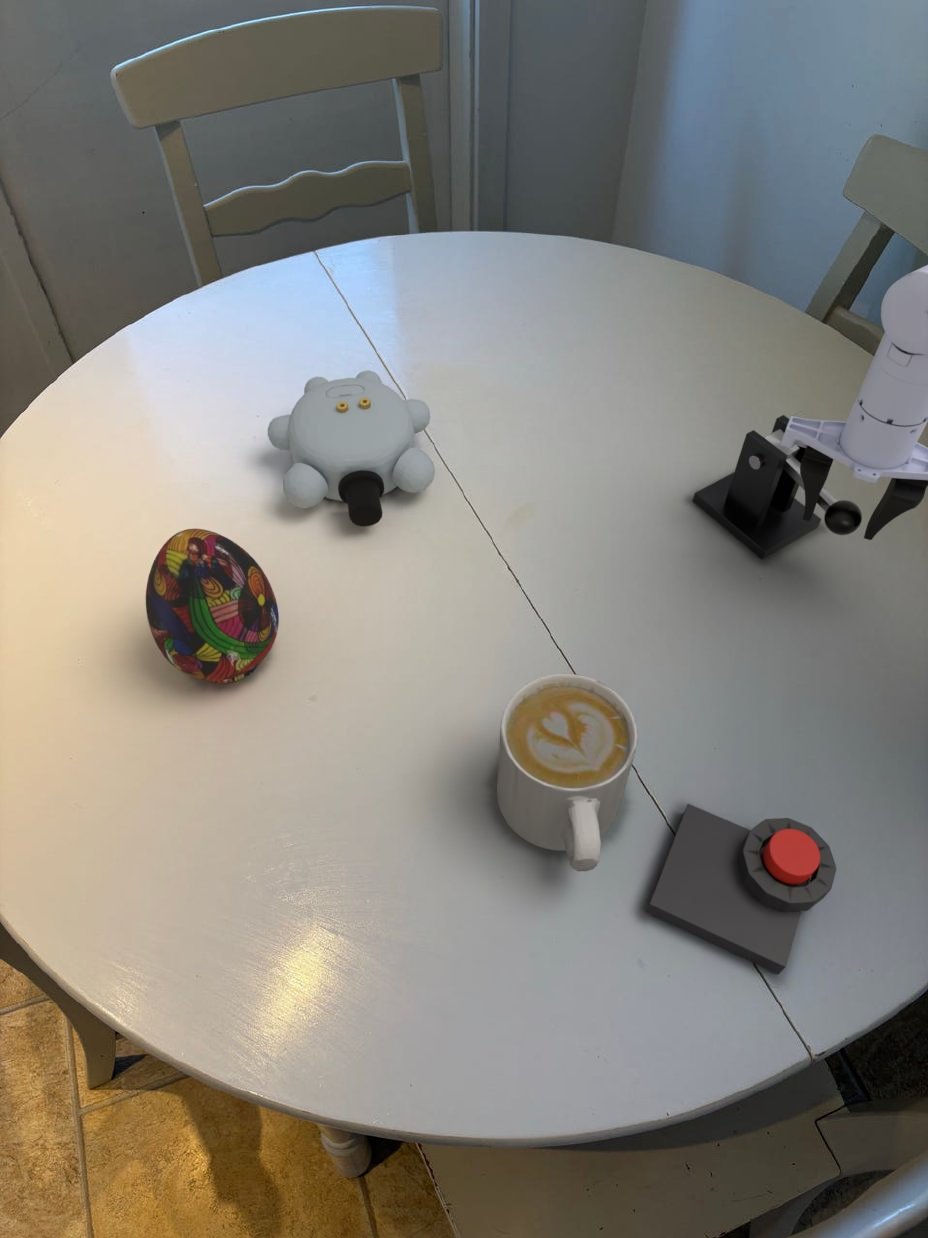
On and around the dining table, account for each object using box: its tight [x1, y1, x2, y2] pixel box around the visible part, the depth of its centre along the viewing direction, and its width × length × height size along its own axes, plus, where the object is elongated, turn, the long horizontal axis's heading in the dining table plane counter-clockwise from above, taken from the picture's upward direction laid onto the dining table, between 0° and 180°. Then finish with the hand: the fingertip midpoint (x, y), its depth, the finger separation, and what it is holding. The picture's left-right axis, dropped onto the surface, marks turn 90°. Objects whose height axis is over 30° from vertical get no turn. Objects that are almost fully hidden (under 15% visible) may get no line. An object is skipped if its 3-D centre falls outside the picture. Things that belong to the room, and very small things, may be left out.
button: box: [763, 829, 820, 885], centre depth 65 cm, size 4×4×2 cm
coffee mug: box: [496, 673, 639, 872], centre depth 67 cm, size 13×10×10 cm
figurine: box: [267, 370, 436, 528], centre depth 93 cm, size 17×8×20 cm
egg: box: [145, 528, 280, 684], centre depth 75 cm, size 11×11×15 cm
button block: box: [645, 803, 837, 975], centre depth 66 cm, size 11×10×4 cm
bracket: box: [692, 414, 822, 560], centre depth 88 cm, size 10×8×10 cm
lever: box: [763, 429, 863, 536], centre depth 83 cm, size 12×3×3 cm, turn 34°
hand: (838, 522), depth 82 cm, fingers open, 5 cm apart
